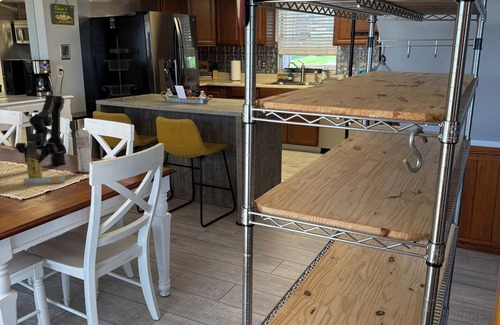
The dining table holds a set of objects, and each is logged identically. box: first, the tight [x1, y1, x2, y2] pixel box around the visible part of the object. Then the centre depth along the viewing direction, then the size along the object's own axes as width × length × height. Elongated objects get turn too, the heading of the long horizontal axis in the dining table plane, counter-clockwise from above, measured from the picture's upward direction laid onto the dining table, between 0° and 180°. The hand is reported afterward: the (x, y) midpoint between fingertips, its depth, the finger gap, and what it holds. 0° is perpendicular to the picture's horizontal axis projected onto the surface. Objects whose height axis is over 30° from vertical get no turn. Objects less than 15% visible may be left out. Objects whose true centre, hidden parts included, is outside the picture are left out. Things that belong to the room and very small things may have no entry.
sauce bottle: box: [26, 141, 43, 178], centre depth 218 cm, size 6×6×20 cm
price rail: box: [23, 175, 66, 186], centre depth 215 cm, size 18×1×3 cm, turn 108°
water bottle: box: [75, 124, 92, 173], centre depth 236 cm, size 7×7×25 cm
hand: (32, 162), depth 217 cm, fingers closed on sauce bottle, 6 cm apart
